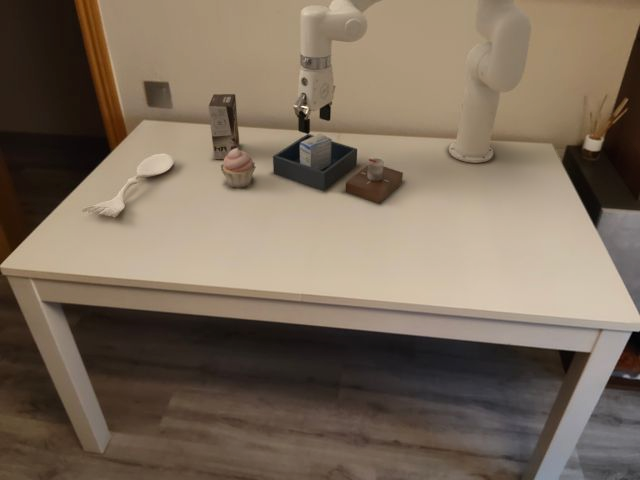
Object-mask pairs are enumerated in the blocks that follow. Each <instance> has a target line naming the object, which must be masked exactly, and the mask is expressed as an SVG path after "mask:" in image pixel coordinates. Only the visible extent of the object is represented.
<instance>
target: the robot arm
mask: <svg viewBox="0 0 640 480" xmlns="http://www.w3.org/2000/svg"><path fill="white" fill-rule="evenodd" d="M381 1H382V0H332V1H331V3H330V4H329V6H328V7H327V6H325V5H318V4H317V5H307V6H304V7H303V8H302V9H301V11H300V14H299V15H300V16H299V17H300V19H299V21H300V23H299V27H300V29H299V30H300V32H299V33H300V34H299V35H300V39H299V41H300V43H299V44H300V45H299V46H300V47H299V48H300V49H299V50H300V53H299V55H300V57H299V59H300V61H299V62H300V69H299V77H298V87H297V88H298V90H297V100H296V101H295V103H294V104H293V110H294V114H295V116H296V118H297V119H298V120H297V121H298V122H297V123H298V124H297V125H298V126H297V127H298V128H297V129H298V132H300V133H303V134H305V135H307V134H311V133H310V132H311V119H310V115H311V112H316V111H319V116H318V117H319V119H320V120H323V121H326V122H329V121H331V119H332V118H331V116H332V115H331V113H332V112H331V111H332V107H331V106H333V100H334V97H335V95H334V93H335V90H336V86H335V84H334V71H333V65H332V46H333V45H332V44H333V43H332V42H333V41H335V42H344V43H353V42H354V43H355V42H357V41H359V40H361V39H362V38H363V37H364V36H365V35H366V33H367V30H368V20H367V18H366V16H365V15H364V12H366V11H367V10H368V9H369V8H371V7H372V6H373V5H375V4H377V3H379V2H381ZM474 24H475V26H474V27H475V30H476V32H477V33H478V34H479V36H481V38H483V39H485V41H480V42H478V43H475V45H474V46H473V47H472V48H470V50H469V52H468V54H467V57H466V60H465V83H464V92H463V98H462V104H461V109H460V116H459V120H458V127H457V132H456V139H455V141H454V142H452V143H451V144H450V145H449V147H448V152H449V154H450V155H451V156H452V157H453V158H455V159H456V160H459V161H462V162H466V163H471V164H474V163H476V164H479V163H485V162H488V161H490V160H492V158H493V156H494V150H493V148H492V147H491V146H490V144H491V141H492V140H491V139H492V135H493V130H494V126H495V121H496V115H497V111H498V106H499V103H500V98H501V97H500V96H501V93H508V92H511V91H513V90H514V89H515V88H516V87H517V86H518V85H519V84H520V82H521V80H522V78H523V76H524V73H525V69H526V63H527V59H528V58H527V57H528V52H529V46H530V39H531V29H532V27H531V21H530V18H529V16H528V14H527V13H526V12H525V11H524V10H523V9H521V8H520V7H517V6H516V5H515V0H477V3H476V12H475V23H474ZM304 110H306V111H305V112H304Z"/></svg>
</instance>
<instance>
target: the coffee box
mask: <svg viewBox="0 0 640 480" xmlns="http://www.w3.org/2000/svg"><path fill="white" fill-rule="evenodd" d="M208 115H209V123H210V133H211V140H212V141H211V142H212V149H213V159H214V160H224V158H225V157H226V156H227V155H228V154H229V152H230V151H231V150H233V149H236V148H238V149H239V150H240V144H241V143H240V134H239V132H240V131H239V122H238V111H237V101H236V94H235V93H220V94H218V93H215V94H212V97H211V99H210V102H209V104H208Z"/></svg>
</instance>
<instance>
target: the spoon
mask: <svg viewBox="0 0 640 480" xmlns="http://www.w3.org/2000/svg"><path fill="white" fill-rule="evenodd" d="M173 165H174V157H173V156H171V155H170V154H167V153H155V154H152V155H150V156H148V157H146V158H145V159H143V160H142V161H141V162H140V163H139V164H138V165H137V168H136V173H137V174H136V175H135V176H133V177H130V178H128V179H127V180H126V183H125V184H124V185H123V186H122V188H121V189H120V190H119V192H118V193H117V195H115V196H114V197H113V198H111V199H109V200H104V201H102V202H99V203H96V204H92V205H89V206H85V207H83V208H82V212H83V213H85V212H88V213H90V214H91V213H92V214H93V215H96V214H98V215H100V216H103V215H104V216H105V217H107V216H108V217H112V218H116V217H117V216H119V214H121V212H122V211H123V210H124V209H125V207H126V205H125V201H124V199H125V195H126V193H127V191H128V190H129V188H130V187H132V186H134V185H135V184H138V183H139V179H142V178H147V177H155V176H160V175H161V174H164V173H166V172H168V170H170V169H171V168H172V166H173Z"/></svg>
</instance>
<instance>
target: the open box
mask: <svg viewBox="0 0 640 480" xmlns="http://www.w3.org/2000/svg"><path fill="white" fill-rule="evenodd" d="M314 136H315V135H313V134H311V133H309V134H305V135H304V136H302V137H301V138H299V139H297V140H295V141H294V142H293V143H291V144H290V145H288V146H286V147H285V148H283V149H282V150H280V151H279V152H277V153H276V154H274V155H273V156H272V169H273V174H274V175H277V176H279V177H282V178H284V179H287V180H290V181H293V182H296V183H299V184H302V185H304V186H307V187H310V188H313V189H316V190H319V191H320V192H326V191H327V190H329V188H331V187H332V186H334V185H335V184H336V183H337V182H338V181H339V180H341V179H342V178H343V177H345V176H346V175H347V174H349V173H350V172H351V171H352V170H354V169H355V168H356V167H357V164H358V163H357V161H358V148H357V147H356V148H355V147H352V146H350V145H346V144H343V143H339V142H336V141H332V140H331V166H329V167H327V168H325V169H323V170H318V169H315V168H312V167H309V166H306V165H303V164H300V142H302V141H304V140H307V139H309V138H311V137H314Z"/></svg>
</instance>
